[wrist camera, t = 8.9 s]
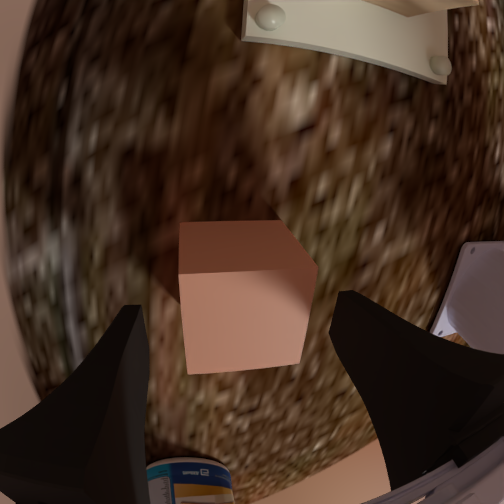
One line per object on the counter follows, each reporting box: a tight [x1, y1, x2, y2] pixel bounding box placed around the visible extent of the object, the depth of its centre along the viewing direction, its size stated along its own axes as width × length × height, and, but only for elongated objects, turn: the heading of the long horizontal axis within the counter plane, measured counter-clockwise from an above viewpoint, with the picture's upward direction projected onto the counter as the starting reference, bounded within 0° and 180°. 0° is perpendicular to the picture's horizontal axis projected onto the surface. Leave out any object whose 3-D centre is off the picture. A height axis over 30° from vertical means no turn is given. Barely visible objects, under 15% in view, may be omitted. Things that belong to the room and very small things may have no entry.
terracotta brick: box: [179, 220, 318, 374], centre depth 13 cm, size 4×4×4 cm
